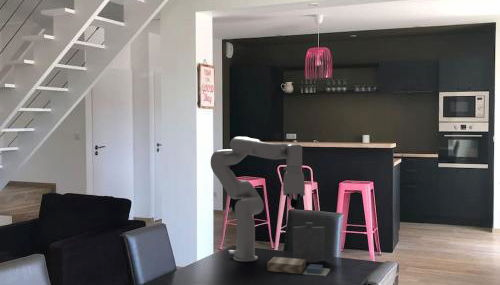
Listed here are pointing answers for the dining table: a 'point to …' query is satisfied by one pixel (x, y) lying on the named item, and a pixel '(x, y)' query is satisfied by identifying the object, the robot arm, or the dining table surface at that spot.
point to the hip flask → (309, 243)
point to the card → (314, 268)
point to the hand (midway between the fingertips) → (293, 207)
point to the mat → (322, 273)
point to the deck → (286, 265)
